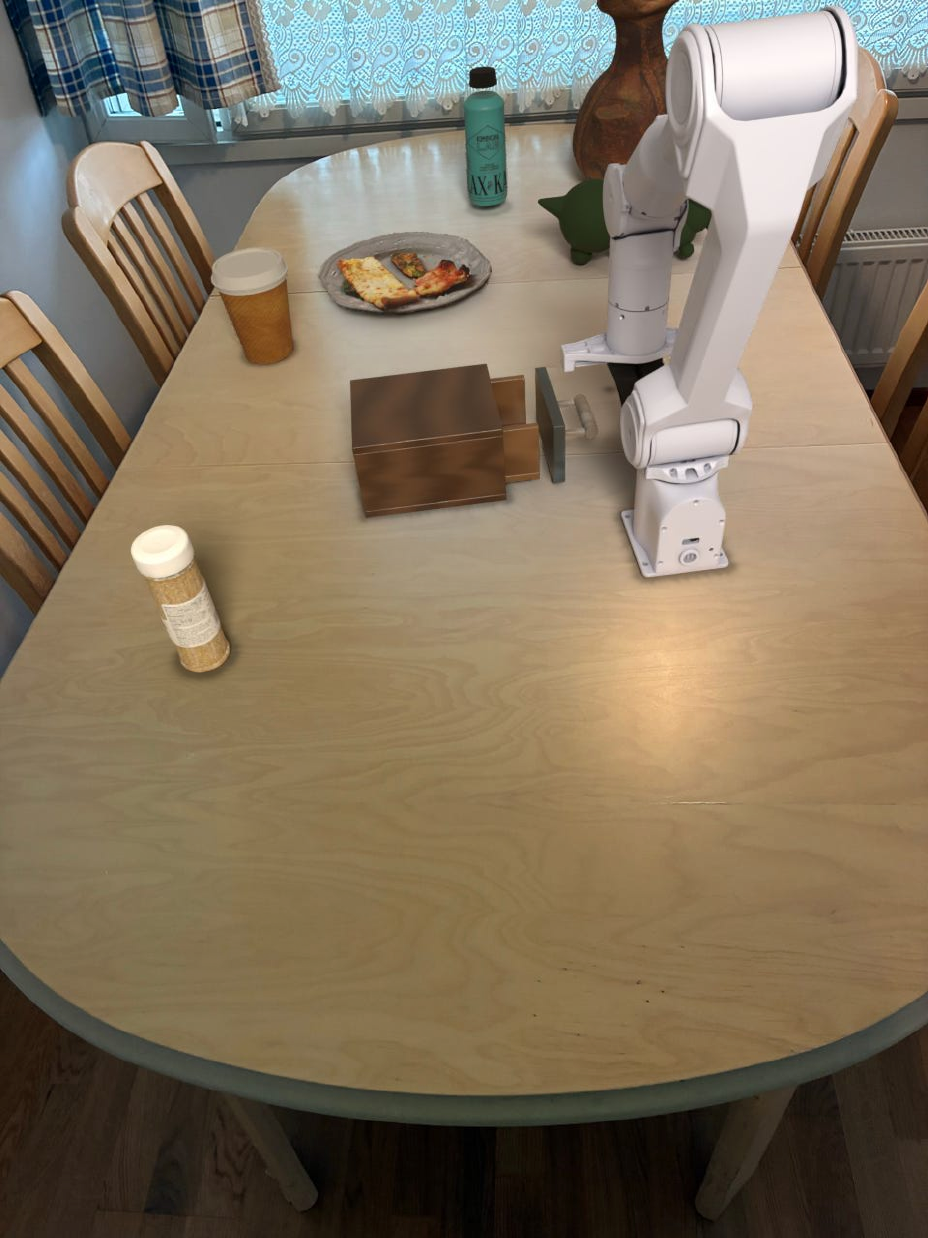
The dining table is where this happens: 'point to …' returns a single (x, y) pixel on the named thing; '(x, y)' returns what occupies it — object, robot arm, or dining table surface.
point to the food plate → (404, 272)
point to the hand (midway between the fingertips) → (630, 421)
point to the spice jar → (181, 596)
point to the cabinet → (427, 440)
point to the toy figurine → (588, 226)
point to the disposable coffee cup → (256, 301)
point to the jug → (624, 88)
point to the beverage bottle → (485, 140)
